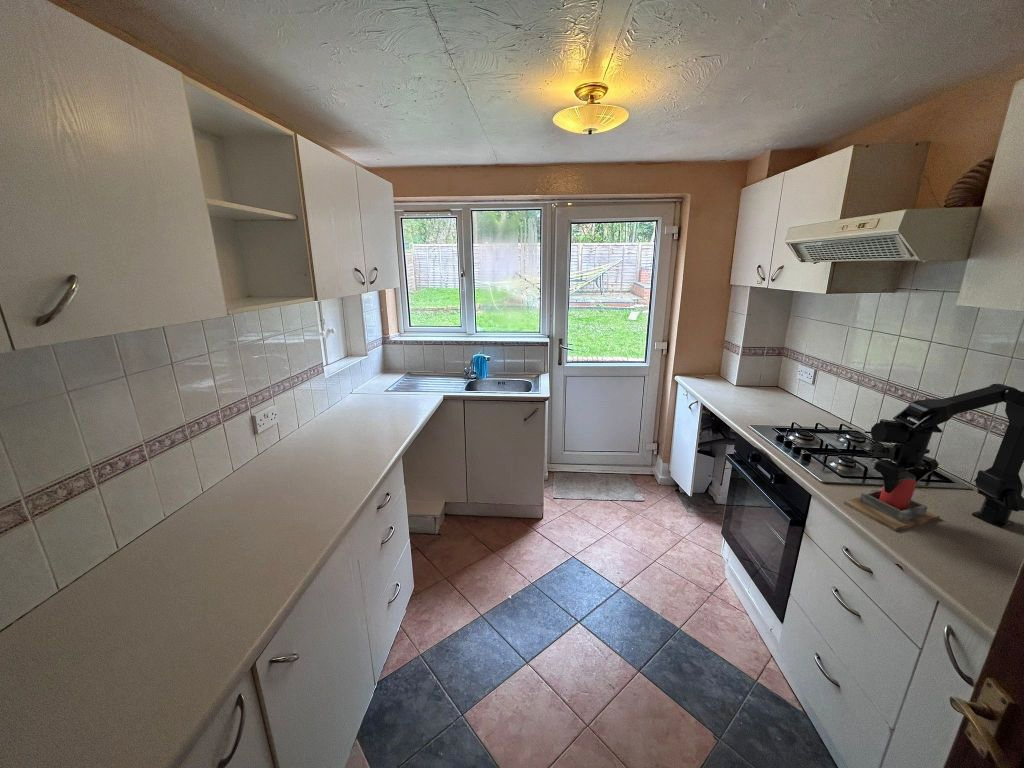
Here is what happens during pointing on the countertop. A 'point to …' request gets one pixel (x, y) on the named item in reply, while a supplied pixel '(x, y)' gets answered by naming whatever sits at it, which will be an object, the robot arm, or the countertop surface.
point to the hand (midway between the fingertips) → (897, 489)
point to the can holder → (890, 511)
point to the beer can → (900, 493)
